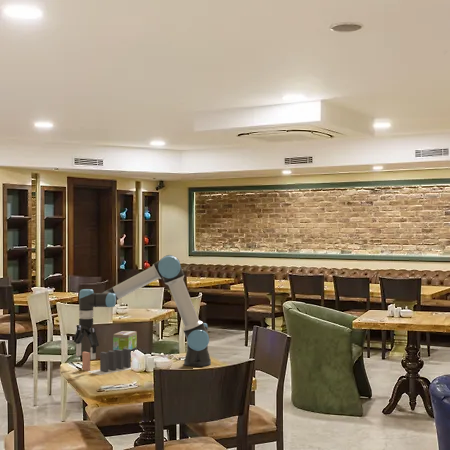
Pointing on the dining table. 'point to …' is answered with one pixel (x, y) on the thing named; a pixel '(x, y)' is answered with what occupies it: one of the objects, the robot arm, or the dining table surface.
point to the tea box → (125, 340)
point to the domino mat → (108, 371)
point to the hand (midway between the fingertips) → (85, 357)
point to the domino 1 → (86, 361)
